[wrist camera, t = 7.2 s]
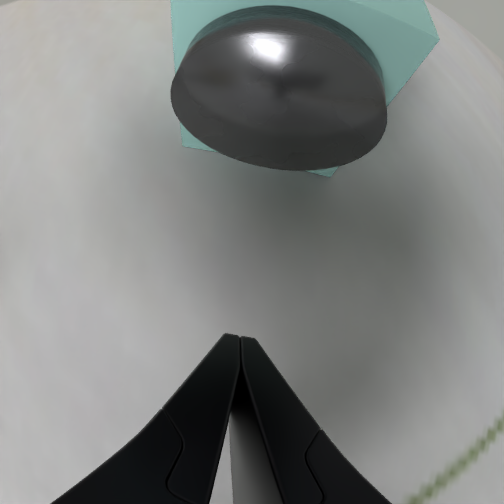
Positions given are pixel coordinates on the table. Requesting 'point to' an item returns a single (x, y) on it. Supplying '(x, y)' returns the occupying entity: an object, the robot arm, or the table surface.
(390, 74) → the block
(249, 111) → the plunger
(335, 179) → the table surface
